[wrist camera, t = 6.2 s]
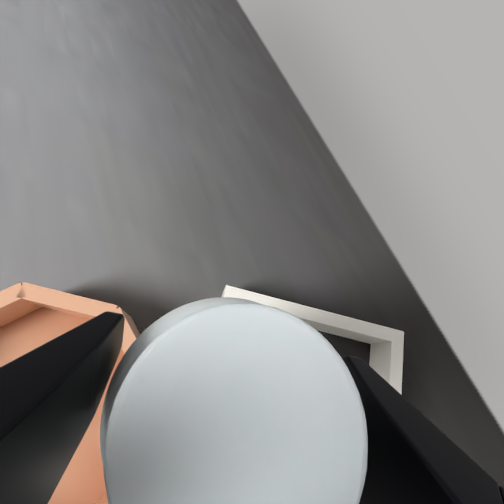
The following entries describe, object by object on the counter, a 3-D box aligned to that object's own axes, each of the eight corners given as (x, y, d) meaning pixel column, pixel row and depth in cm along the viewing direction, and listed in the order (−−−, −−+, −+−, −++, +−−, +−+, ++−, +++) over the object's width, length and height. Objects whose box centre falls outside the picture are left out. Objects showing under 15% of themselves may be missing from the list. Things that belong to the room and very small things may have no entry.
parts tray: (368, 538, 18) (394, 562, 16) (169, 498, 17) (166, 518, 15) (382, 335, 23) (404, 331, 20) (222, 293, 22) (226, 285, 19)
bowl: (116, 568, 16) (97, 619, 13) (-142, 523, 15) (-233, 566, 12) (185, 329, 20) (184, 322, 17) (-10, 281, 19) (-51, 263, 16)
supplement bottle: (113, 416, 13) (-66, 520, 4) (194, 304, 15) (198, 204, 6) (226, 496, 12) (313, 804, 4) (293, 371, 15) (452, 372, 6)
